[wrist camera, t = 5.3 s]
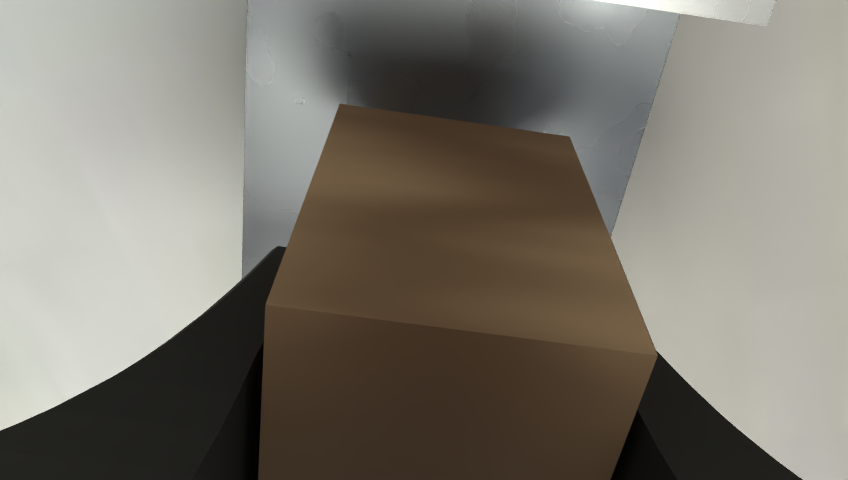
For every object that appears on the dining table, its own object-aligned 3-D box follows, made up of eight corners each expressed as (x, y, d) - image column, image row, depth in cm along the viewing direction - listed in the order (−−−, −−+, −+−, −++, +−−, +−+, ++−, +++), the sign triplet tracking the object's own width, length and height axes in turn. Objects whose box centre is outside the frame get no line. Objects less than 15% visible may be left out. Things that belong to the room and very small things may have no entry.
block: (570, 136, 13) (658, 355, 7) (511, 360, 15) (547, 643, 10) (340, 103, 12) (264, 304, 7) (318, 336, 15) (252, 610, 10)
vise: (709, -136, 15) (818, -114, 10) (499, 558, 26) (510, 708, 21) (262, -209, 14) (184, -218, 10) (243, 529, 25) (202, 676, 21)
